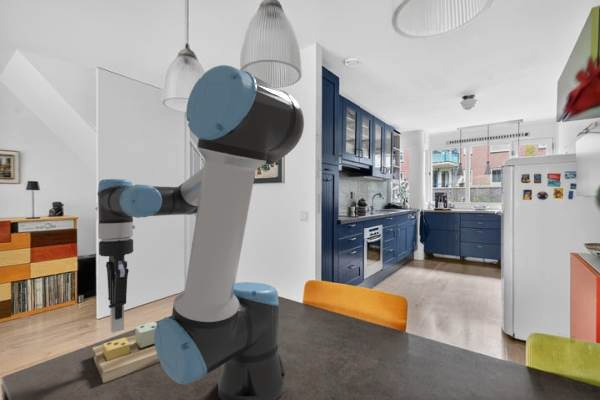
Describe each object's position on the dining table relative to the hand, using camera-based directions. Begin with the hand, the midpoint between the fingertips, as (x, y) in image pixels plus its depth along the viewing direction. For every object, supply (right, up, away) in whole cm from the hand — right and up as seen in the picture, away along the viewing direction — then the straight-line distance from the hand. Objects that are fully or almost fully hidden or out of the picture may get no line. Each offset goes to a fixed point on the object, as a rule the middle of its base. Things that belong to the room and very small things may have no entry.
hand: (117, 330), depth 74 cm
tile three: (0, -8, 0) cm, 8 cm away
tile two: (+5, -6, +6) cm, 9 cm away
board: (+5, -9, +6) cm, 11 cm away
